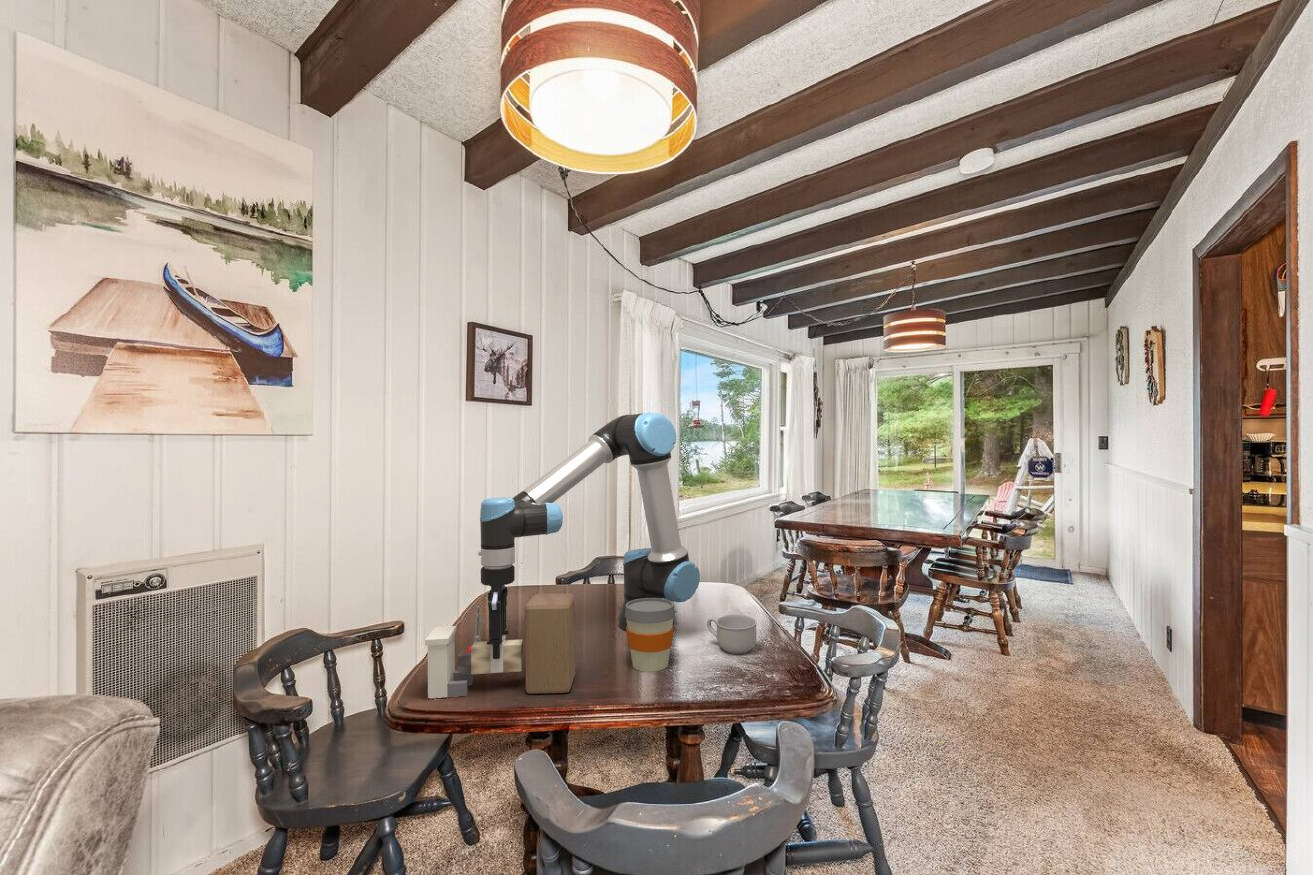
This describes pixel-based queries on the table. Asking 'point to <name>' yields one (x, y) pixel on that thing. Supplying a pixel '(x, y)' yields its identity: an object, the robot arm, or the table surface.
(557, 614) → the block
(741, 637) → the teacup
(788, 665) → the table surface
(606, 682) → the table surface
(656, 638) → the reusable coffee cup
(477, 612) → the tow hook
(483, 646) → the rail
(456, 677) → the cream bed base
